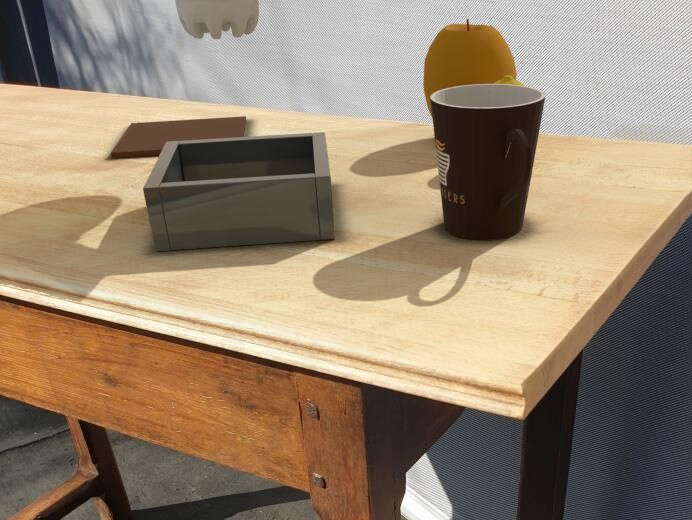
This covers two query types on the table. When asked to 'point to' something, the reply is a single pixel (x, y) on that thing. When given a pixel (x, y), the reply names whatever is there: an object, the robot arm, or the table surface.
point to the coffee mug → (485, 156)
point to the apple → (466, 58)
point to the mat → (174, 134)
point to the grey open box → (240, 192)
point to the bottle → (218, 16)
